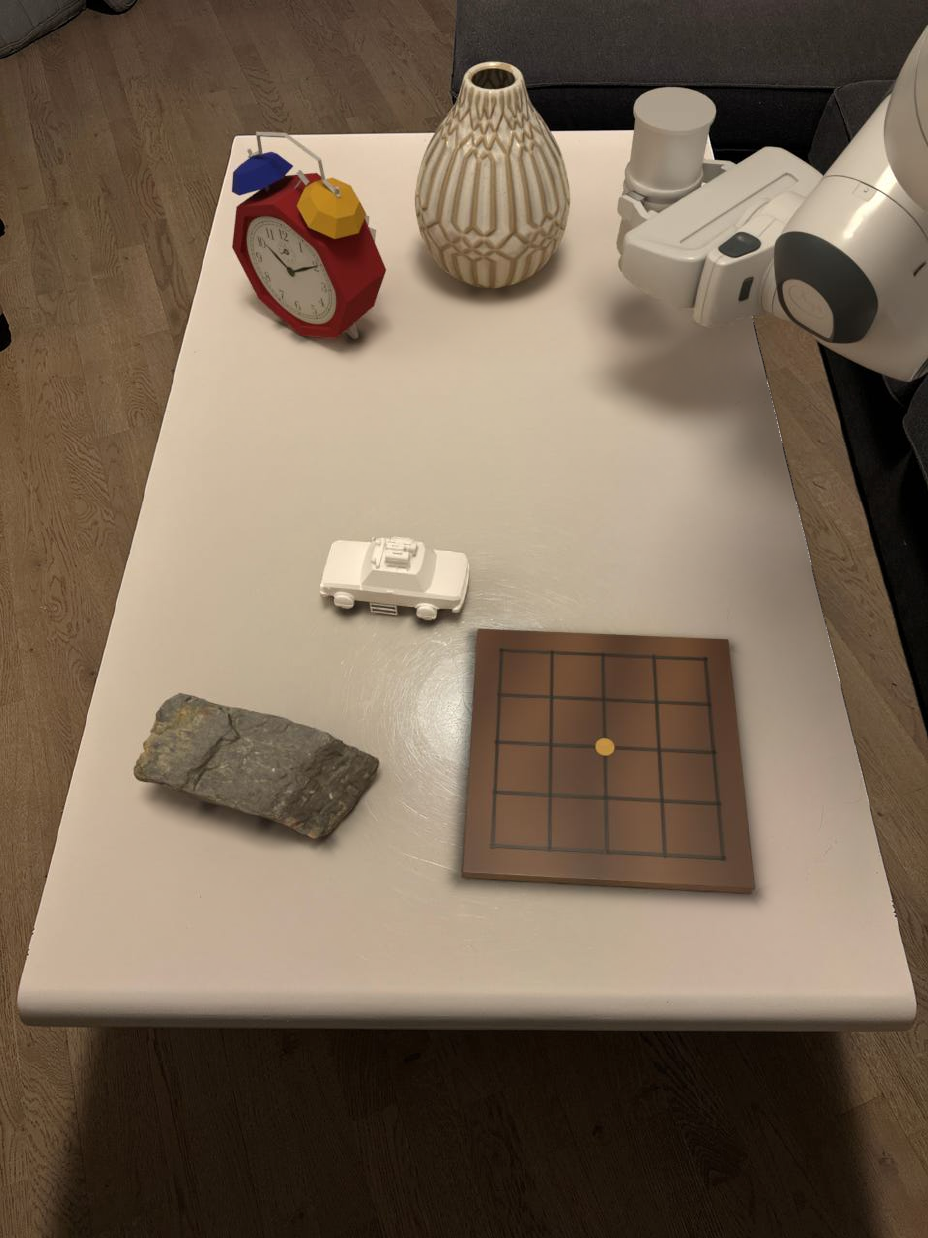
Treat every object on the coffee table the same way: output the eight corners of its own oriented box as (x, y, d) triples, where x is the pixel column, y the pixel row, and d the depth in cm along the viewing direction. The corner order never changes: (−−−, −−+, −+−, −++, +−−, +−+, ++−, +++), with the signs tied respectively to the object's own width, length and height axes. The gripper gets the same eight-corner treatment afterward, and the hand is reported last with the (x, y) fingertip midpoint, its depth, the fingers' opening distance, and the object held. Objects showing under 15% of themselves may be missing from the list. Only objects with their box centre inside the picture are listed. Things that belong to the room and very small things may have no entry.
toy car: (335, 556, 81) (324, 505, 76) (472, 571, 80) (472, 521, 75) (319, 613, 78) (307, 564, 73) (462, 630, 77) (460, 582, 71)
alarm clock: (246, 309, 99) (198, 122, 83) (300, 266, 103) (265, 79, 86) (354, 365, 94) (327, 178, 78) (407, 318, 98) (391, 130, 81)
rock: (114, 836, 63) (129, 691, 66) (152, 844, 70) (164, 711, 73) (368, 832, 62) (371, 686, 65) (382, 841, 69) (384, 707, 72)
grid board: (725, 646, 76) (728, 638, 75) (751, 893, 65) (755, 888, 64) (477, 636, 77) (477, 627, 76) (462, 878, 66) (462, 872, 65)
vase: (543, 324, 97) (555, 135, 81) (398, 295, 100) (381, 107, 83) (580, 233, 106) (598, 44, 89) (445, 209, 108) (438, 22, 92)
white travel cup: (699, 260, 91) (733, 103, 78) (659, 296, 88) (687, 140, 75) (639, 233, 93) (663, 77, 81) (599, 268, 90) (616, 112, 78)
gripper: (865, 166, 79) (735, 103, 85) (708, 272, 72) (578, 195, 78) (841, 232, 85) (721, 169, 91) (693, 337, 77) (572, 261, 83)
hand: (654, 182), depth 84 cm, fingers closed on white travel cup, 7 cm apart
